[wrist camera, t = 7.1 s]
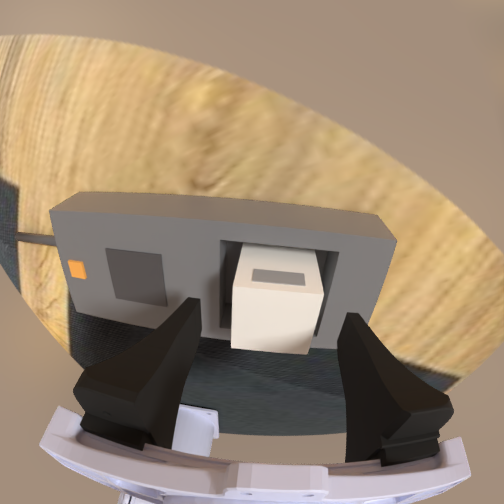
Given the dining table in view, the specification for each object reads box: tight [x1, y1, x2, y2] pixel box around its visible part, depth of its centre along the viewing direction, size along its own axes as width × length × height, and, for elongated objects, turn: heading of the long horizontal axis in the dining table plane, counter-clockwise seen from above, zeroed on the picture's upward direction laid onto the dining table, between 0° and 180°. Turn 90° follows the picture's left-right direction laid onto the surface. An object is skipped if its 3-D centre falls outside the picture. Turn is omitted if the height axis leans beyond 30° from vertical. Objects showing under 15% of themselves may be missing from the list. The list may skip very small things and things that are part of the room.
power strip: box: [16, 192, 397, 349], centre depth 17 cm, size 29×8×4 cm, turn 86°
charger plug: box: [231, 242, 324, 354], centre depth 16 cm, size 4×4×5 cm
